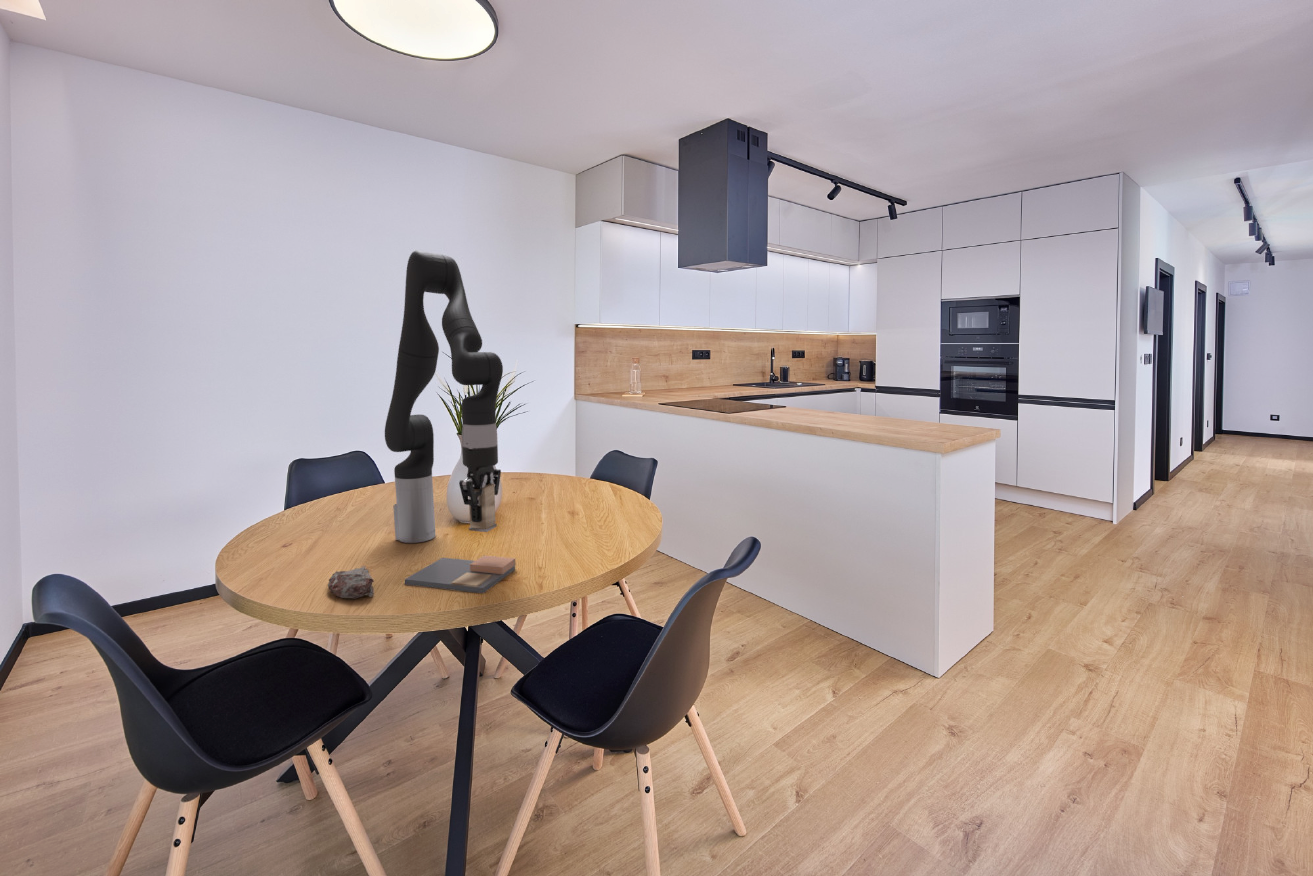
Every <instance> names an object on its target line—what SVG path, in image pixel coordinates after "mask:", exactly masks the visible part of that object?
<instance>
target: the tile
mask: <svg viewBox="0 0 1313 876" xmlns="http://www.w3.org/2000/svg"><path fill="white" fill-rule="evenodd" d="M473 561H474V562H473V563H471V564H470V571H475V572H484V573H494V574H504V573H505V572H507V571H508V570H509V569H511V568H512V567H513V566H515V567H516V558H515V557H505V556H494V555H483V556H481V557H479V558H477V559H476V560H473Z"/></svg>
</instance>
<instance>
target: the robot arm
mask: <svg viewBox="0 0 1313 876" xmlns="http://www.w3.org/2000/svg"><path fill="white" fill-rule="evenodd" d="M409 255H410V256H409V257H408V260H407V263H406V264H407V266H406V270H405V271H406V272H405V274H406V275H405V289H404V290H405V291H404V309H403V319H402V325H401V326H402V327H401V331H400V332H401V333H400V339H399V345H398V349H397V357H396V358H397V359H396V369H395V370H396V371H395V376H394V377H395V378H394V383H393V391H392V396H391V400H390V404H389V408H388V412H387V416H386V420H385V425H384V441H385V444H386V446H387V449H389V450H390V451H391V452H394V453H401V452H402V453H403V452H409V454H408V456H407V457H406V458H405V459H404V460H402V461H401V462H399V463H398V464H396V465H395V467H394V483H395V484H394V487H395V501H396V503H395V504H393V521H394V523H393V524H394V534H395V535H394V537H395V539H394V540H396V541H399V542H401V543H405V544H416V543H423V542H428V541H430V540H433V539H434V538H436V518H435V517H436V516H435V506H434V505H435V504H434V503H435V502H434V486H433V485H434V484H433V482H434V481H433V466H434V459H435V458H434V457H435V456H434V455H435V454H434V451H435V450H434V449H435V448H434V447H435V445H434V442H435V441H434V439H435V438H434V437H435V435H434V427H433V424H432V422H431V419H430V418H429V417H428V416H427V415H424V414H411V413H412V410H413V407H414V404H415V403H416V402H417V399H418V398H419V396H420V395H421V393H422V392H423V391H425V389H426V387H427V386H428V385H429V383H430V382H431V380H432V379H433V378H434V376H435V373H436V371H437V370H436V369H437V365H438V359H439V353H440V352H439V351H440V347H439V343H438V340H437V337H436V335H435V332H434V331H433V329H432V326H431V325H430V323H429V321H428V318H427V315H426V313H425V306H424V305H425V303H424V298H425V297H424V296H425V293H430V294H431V293H432V294H439V295H445V296H446V298H447V300H448V303H447V305H446V307H445V310H444V311H443V313H442V317H441V327H442V331H443V334H444V336H445V339H446V340H447V343H448V346H449V349H450V354H451V355H450V356H451V357H450V358H451V374H452V377H453V379H454V380H455V382H457V383H458V384H460V385H463V386H481V388H480V390H479V391H478V393H476V394H473V395H470V396H466V397H465V398H463V399H462V401H461V415H462V419H461V420H462V421H461V422H462V427H461V428H462V429H461V449H462V450H461V453H462V457H461V458H462V465H463V466H464V467H466V468H467V473H466V478H465V479H464V480H462V479H461V480H459V482H458V483H459V484H458V485H459V488H460V493H461V496H462V501H463V504H464V505H468V506H469V505H470V506H471V518H472V521H473V522H481V521H482V506H481V502H482V495H483V494H484V491H483V488H484V487H485V486H486V485H488V484H494V491H495V496H498V494H499V489H500V483H501V482H500V481H501V476H502V475H501V473H502V470H501V469H496V468H494V467H495V466H496V465H497V464H498V463H499V453H498V450H499V449H498V448H499V447H498V446H499V445H498V429H497V423H496V421H497V420H496V416H497V415H496V404H497V403H496V402H497V399H498V393H499V389H500V385H501V381H502V377H503V370H504V366H503V362H502V359H501V357H500V356H499V355H498V354H496V353H495V352H492V351H489V352H488V351H487V352H486V351H485V352H484V351H483V352H480V350H482V347H483V339H482V336H481V334H480V332H479V329H478V328H477V325H476V323H475V320H474V318H473V316H472V314H471V312H470V307H469V303H468V299H467V294H466V291H465V286H464V283H463V279H462V278H463V277H462V274H461V271H460V270H461V269H460V267H459V265H458V263H457V261H456V260H455V259H454V258H453V257H451V256H449V255H444V254H440V253H434V252H429V251H424V250H415V251H412V252H411V254H409ZM474 489H477V490H479V489H480V491H479V492H477V491H474ZM475 495H477V500H476V496H475Z"/></svg>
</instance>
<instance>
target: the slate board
mask: <svg viewBox="0 0 1313 876" xmlns="http://www.w3.org/2000/svg"><path fill="white" fill-rule="evenodd" d="M474 561H475V560H471V559H462V558H461V559H460V558H449V557H441V558H439V559H438V560H436V561H434V562H432V563H430V564H428V565H427V566H425V567H424V568H422V569H420V570H419V571H416V572H415V573H413V574H411V575H409V576H407V577H406V578H404V579H403V580H404V585H407V586H415V587H423V588H424V587H425V588H431V589H433V588H435V589H439V590H440V589H441V590H442V589H443V590H449V591H451V590H452V591H458V592H459V591H460V592H467V593H468V592H469V593H478V594H485V593H486V592H487V591H489V590H490V589H491V588H493V587H494V586H495V585H496V584H498V583H500V582H501V581H502V580H503V579H505V578H506V577H508V575H510V574H511V573H513V572H514V571H515V570H516V565H515V566H513V567H512V568H511V569H509V570H508V571H507V572H505V573H504V574H494V573H484V572H475V571H470V564H471V563H473V562H474ZM467 572H468V573H477V574H487V575H491V577H490V578H489V579H487V580H486V581H485V582H483V583H482V584H480V585H479V586H478V587H470V586H461V585H452V584H451V582H453V581H454V580H456V579H458V578H459V577H461V576H462V575H464V574H465V573H467Z"/></svg>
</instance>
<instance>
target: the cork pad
mask: <svg viewBox="0 0 1313 876" xmlns="http://www.w3.org/2000/svg"><path fill="white" fill-rule="evenodd" d="M490 577H491V575H487V574H477V573H468V572H467V573H465V574H464V575H462V576H461V577H459V578H458V579H456V580H454V581H453V582H451V584H452V585H461V586H470V587H478V586H479V585H480V584H482V583H483V582H485V581H486V580H487V579H489V578H490Z"/></svg>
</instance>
